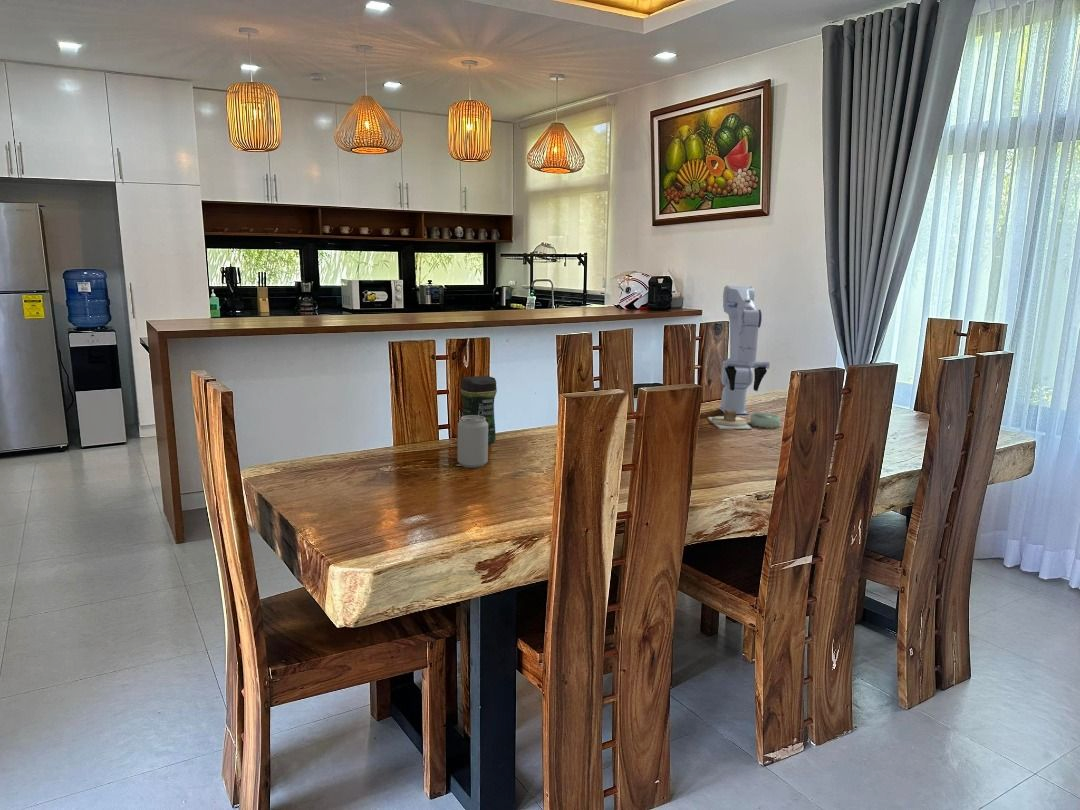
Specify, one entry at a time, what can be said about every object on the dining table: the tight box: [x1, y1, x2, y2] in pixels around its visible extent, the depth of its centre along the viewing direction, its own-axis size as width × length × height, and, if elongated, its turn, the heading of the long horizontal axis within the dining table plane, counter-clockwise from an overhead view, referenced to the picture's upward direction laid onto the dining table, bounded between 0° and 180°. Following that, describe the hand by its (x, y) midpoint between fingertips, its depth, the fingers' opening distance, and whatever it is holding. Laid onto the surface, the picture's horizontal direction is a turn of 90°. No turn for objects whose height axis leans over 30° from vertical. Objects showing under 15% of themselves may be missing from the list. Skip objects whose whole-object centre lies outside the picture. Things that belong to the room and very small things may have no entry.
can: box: [457, 415, 489, 469], centre depth 181 cm, size 8×8×12 cm
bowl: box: [749, 412, 781, 428], centre depth 233 cm, size 9×9×3 cm
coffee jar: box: [460, 375, 498, 445], centre depth 200 cm, size 10×8×19 cm
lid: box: [711, 409, 748, 426], centre depth 232 cm, size 11×11×4 cm
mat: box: [707, 416, 753, 430], centre depth 232 cm, size 14×10×1 cm
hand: (743, 390), depth 234 cm, fingers open, 7 cm apart
